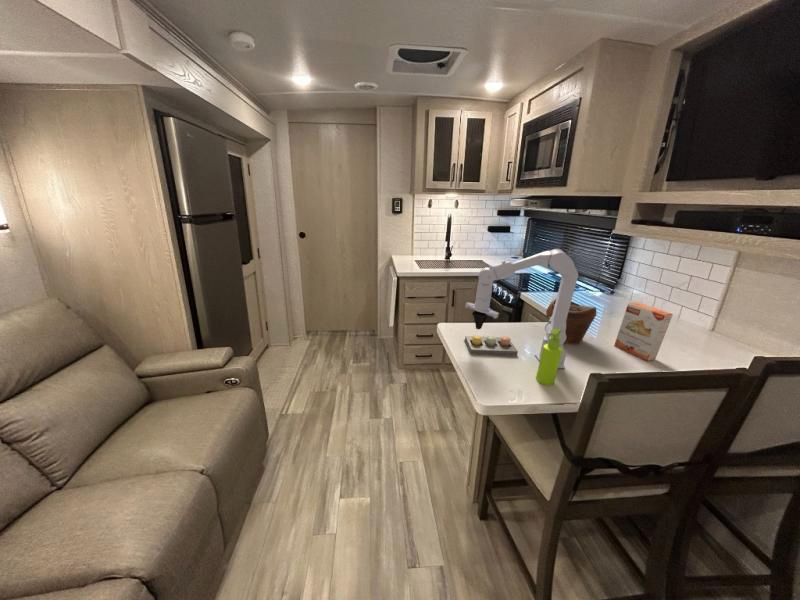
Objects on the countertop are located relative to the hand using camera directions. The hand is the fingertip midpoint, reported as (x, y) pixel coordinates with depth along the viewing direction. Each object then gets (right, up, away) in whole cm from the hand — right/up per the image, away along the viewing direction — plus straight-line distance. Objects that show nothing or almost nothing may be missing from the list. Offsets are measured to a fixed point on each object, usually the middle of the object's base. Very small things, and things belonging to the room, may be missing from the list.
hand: (478, 328), depth 125 cm
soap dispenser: (+19, -17, -18) cm, 31 cm away
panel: (+6, -8, +3) cm, 11 cm away
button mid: (+6, -7, +3) cm, 9 cm away
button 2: (+12, -7, +3) cm, 14 cm away
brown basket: (+45, -6, +16) cm, 48 cm away
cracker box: (+69, -11, +5) cm, 70 cm away
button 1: (0, -7, +2) cm, 7 cm away
